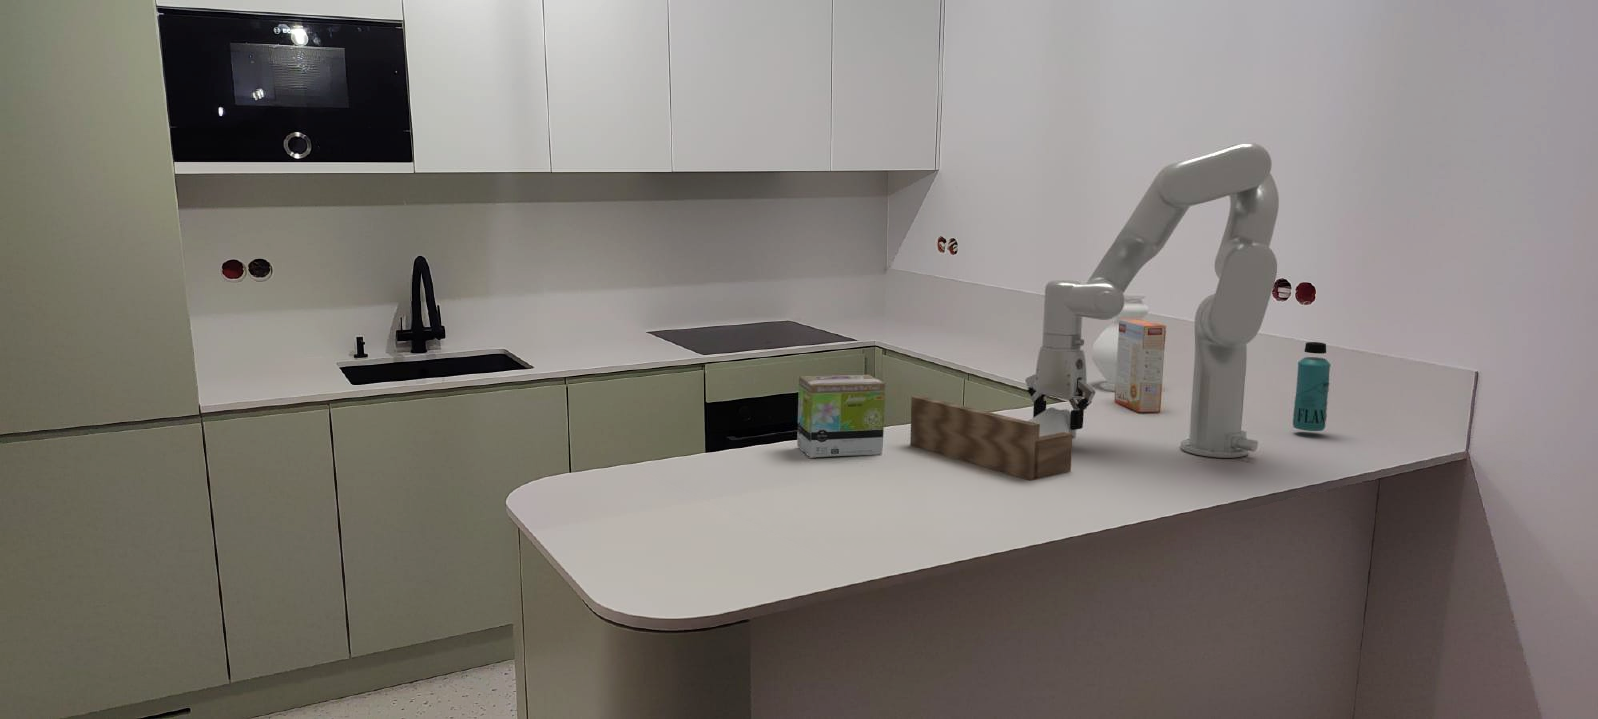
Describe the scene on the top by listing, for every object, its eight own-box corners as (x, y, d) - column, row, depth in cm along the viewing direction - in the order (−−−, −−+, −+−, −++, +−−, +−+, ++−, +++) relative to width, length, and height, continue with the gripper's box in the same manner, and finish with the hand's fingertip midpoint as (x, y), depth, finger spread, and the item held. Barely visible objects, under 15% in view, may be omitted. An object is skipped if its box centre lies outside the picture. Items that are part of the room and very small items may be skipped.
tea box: (810, 460, 198) (811, 384, 196) (796, 447, 208) (797, 375, 205) (884, 455, 202) (885, 380, 200) (867, 443, 212) (868, 372, 209)
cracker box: (1162, 413, 243) (1167, 324, 240) (1137, 413, 242) (1142, 325, 239) (1136, 401, 257) (1141, 317, 253) (1113, 401, 256) (1118, 318, 253)
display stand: (1070, 471, 191) (1073, 418, 189) (1029, 480, 184) (1032, 425, 183) (949, 437, 217) (951, 391, 215) (910, 445, 210) (911, 396, 209)
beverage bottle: (1290, 436, 220) (1298, 343, 217) (1292, 430, 226) (1299, 339, 223) (1324, 439, 217) (1333, 345, 214) (1325, 433, 223) (1333, 341, 220)
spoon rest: (1057, 463, 197) (1059, 427, 196) (998, 455, 203) (1000, 420, 202) (1091, 439, 217) (1093, 406, 216) (1037, 432, 223) (1038, 400, 222)
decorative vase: (1130, 380, 286) (1135, 290, 282) (1175, 391, 270) (1181, 296, 266) (1076, 384, 280) (1080, 292, 276) (1119, 396, 263) (1124, 298, 259)
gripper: (1108, 345, 204) (1103, 430, 207) (1041, 335, 218) (1037, 415, 221) (1083, 348, 200) (1078, 435, 203) (1016, 338, 214) (1013, 419, 217)
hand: (1057, 424), depth 212 cm, fingers open, 9 cm apart
